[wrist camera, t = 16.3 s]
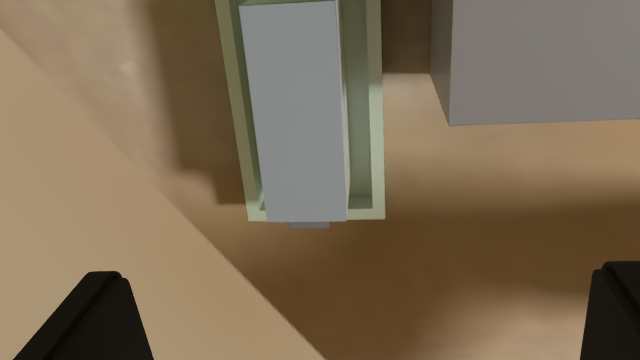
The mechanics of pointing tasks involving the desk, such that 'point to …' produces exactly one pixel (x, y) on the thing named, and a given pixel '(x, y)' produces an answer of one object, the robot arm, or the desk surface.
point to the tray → (361, 105)
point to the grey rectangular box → (535, 60)
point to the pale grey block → (299, 108)
